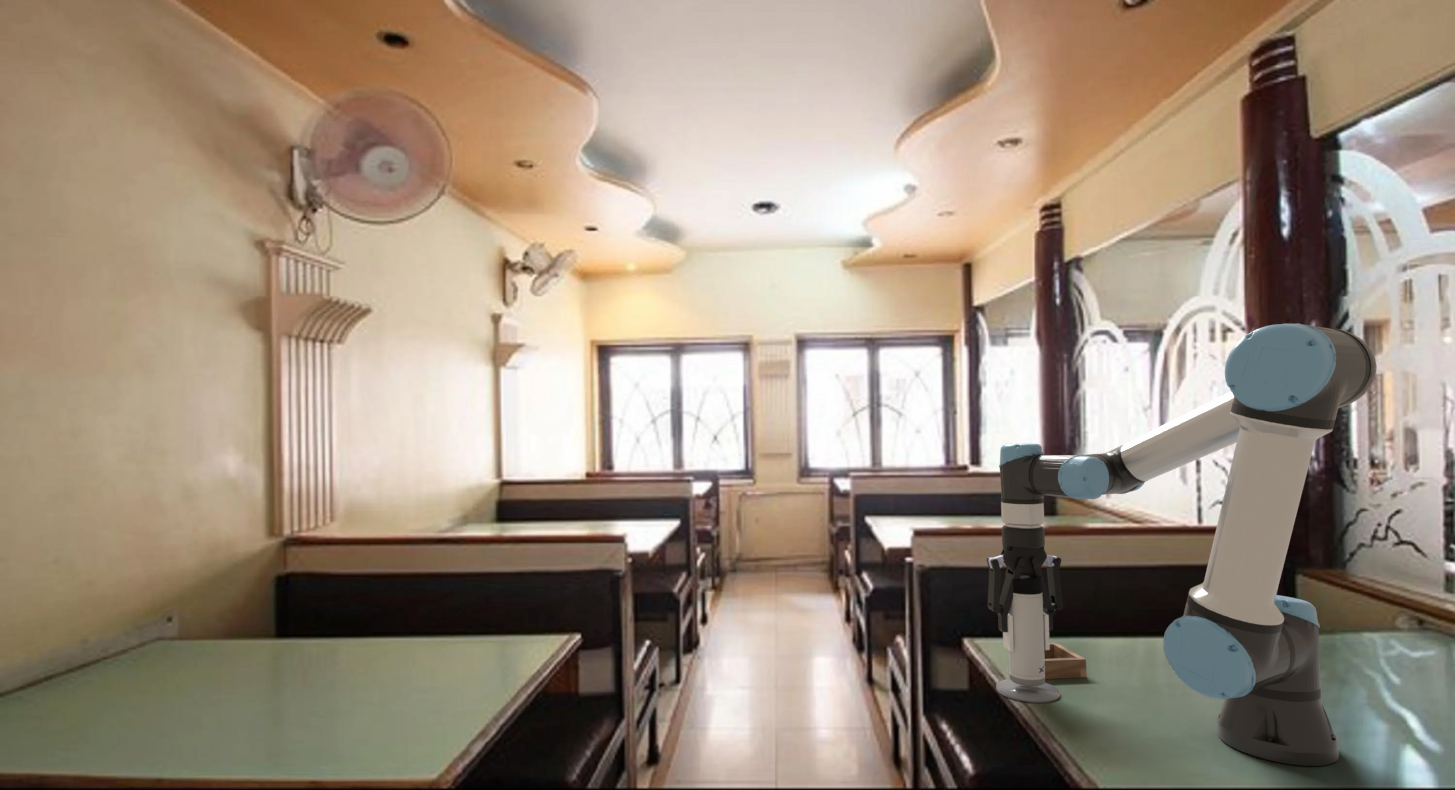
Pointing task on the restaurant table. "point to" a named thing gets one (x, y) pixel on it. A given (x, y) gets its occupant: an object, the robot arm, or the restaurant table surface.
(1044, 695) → the grey round disc
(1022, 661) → the travel mug
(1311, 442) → the robot arm
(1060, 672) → the brown open square frame
